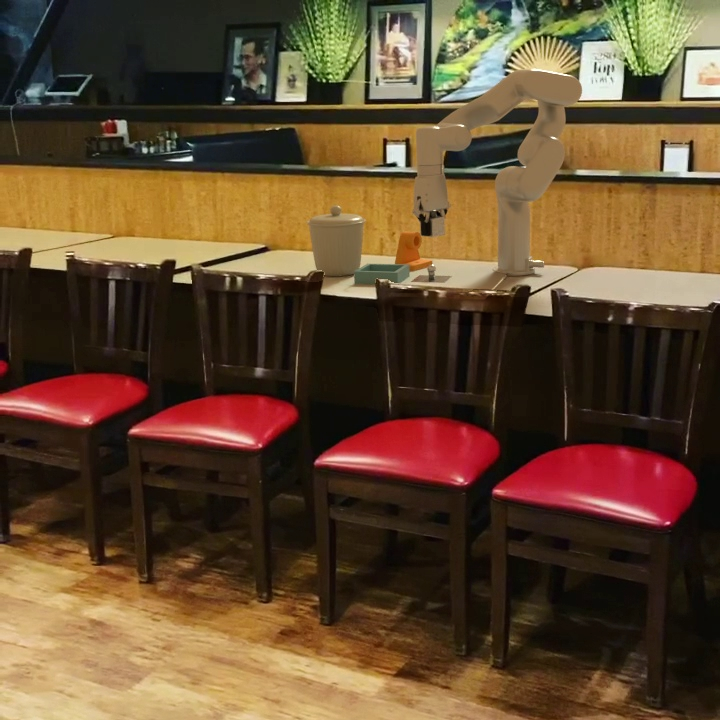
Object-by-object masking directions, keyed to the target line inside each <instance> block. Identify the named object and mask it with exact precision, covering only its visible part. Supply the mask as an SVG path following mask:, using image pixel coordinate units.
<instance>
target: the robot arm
mask: <svg viewBox="0 0 720 720" xmlns="http://www.w3.org/2000/svg"><path fill="white" fill-rule="evenodd" d="M582 94H583V86H582V84H581V82H580V81H579V79H578V78H577V77H575V76H573V75H571V74H564V73H558V72H553V71H548V70H542V69H538V68H537V69H536V68H528V69H527V68H526V69H525V68H523V69H516V70H514V71H512V72H510V73H509V74H508V75H507V76H505V77H504V78H502V79H501V80H500V81H499V82H498V83H496V84H495V85H494V86H492V87H491V88H490V89H488V91H486V92H485V93H483V94H482V95H480V96H478V98H475V99H473V100H471V101H470V102H467V104H465V105H462V106H461V107H459V108H458V109H456V110H454V111H452V112H451V113H449V114H448V115H447V116H446V117H444V118H442V120H441V121H440V122H439V123H437V124H436V125H433V126H432V125H430V126H428V125H427V126H420V127H418V128H417V129H416V130H415V145H416V147H415V148H416V170H417V174H416V175H417V176H415V178H414V185H413V209H412V215H415V217H416V218H417V220H418V222H419V223H420V222H421V235H422V236H421V237H425V236H430V222H428V220H429V214H430V212H431V211H436V216H442V217H445V218H446V215H447V214H448V211H449V210H450V208H451V206H452V205H451V203H450V201H449V196H448V195H449V194H448V185H447V179H446V176H445V175H446V174H445V172H444V171H445V165H444V151H445V152H447V151H449V152H450V151H451V152H460V151H464V150H466V149H467V148H468V147H469V146H470V145H471V142H472V139H473V138H472V137H473V135H472V132H471V131H472V130H474V129H477V128H479V127H483V126H486V125H491V124H493V123H496V122H498V121H500V120H501V119H502V118H504V117H505V116H506V115H507V114H508V113H510V112H511V111H512V110H514V109H515V108H516V107H517V106H519V105H520V104H521V103H523V102H524V101H526V100H527V101H528V100H535V101H537V105H538V114H537V117H536V120H535V121H534V124H533V126H532V127H531V128H530V130H529V132H528V133H527V134H526V136H525V138H524V140H523V141H522V143H521V144H520V145H519V148H518V149H517V159H518V161H519V163H520V164H521V165H523V166H524V167H523V166H516V165H515V166H514V165H513V166H512V165H511V166H506V167H505V168H502V169H501V170H500V171H499V172H498V173H497V175H496V177H495V179H494V180H495V181H494V190H495V195H496V200H497V201H496V204H497V266H495V267H493V268H492V271H493V272H495V273H501V274H504V276H508V277H513V276H514V277H515V276H516V277H517V276H520V277H521V276H527V275H532V274H534V273H535V272H536V269H535V268H542V269H543V268H545V261H543V260H534V259H533V256H532V255H531V254H530V253H531V251H530V250H531V245H530V242H531V240H530V239H531V209H530V204H529V203H530V202H536V201H537V200H539V199H541V197H542V196H543V195H544V194H545V193H546V191H547V190H548V188H549V186H551V183H552V182H553V181H554V179H555V177H556V176H557V174H558V172H559V170H560V169H561V167H562V166H563V163H564V160H565V156H566V153H565V152H566V150H565V145H564V144H563V142H562V140H560V139H559V138H560V137H561V135H562V133H563V131H564V129H565V126H566V123H567V122H566V121H567V120H566V118H567V117H566V110H565V107H569V106H573V105H575V104H577V102H578V101H580V98H581V97H582ZM530 255H531V256H530Z"/></svg>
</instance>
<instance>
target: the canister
mask: <svg viewBox="0 0 720 720" xmlns="http://www.w3.org/2000/svg"><path fill="white" fill-rule="evenodd" d="M329 212H330V213H326V214H320V215H314V216H313V217H311V218H309V220H307V221H306V224H307V225H308V227H309V234H310V236H309V237H310V241H311V247H312V248H311V249H312V253H313V254H312V255H313V260H314V266H315V268H316V271H317V270H322V271H324V272H325V277H347V276H351V275H354V271H356V270H358V269H359V268H361V264H362V263H361V260H362V251H363V238H364V227H365V225H364V224H365V223H366V221H367V220H366V218H363V217H362V216H361V215H358V214H355V213H342V207H341V206H339V205H332V206H331V207H330V208H329Z"/></svg>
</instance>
